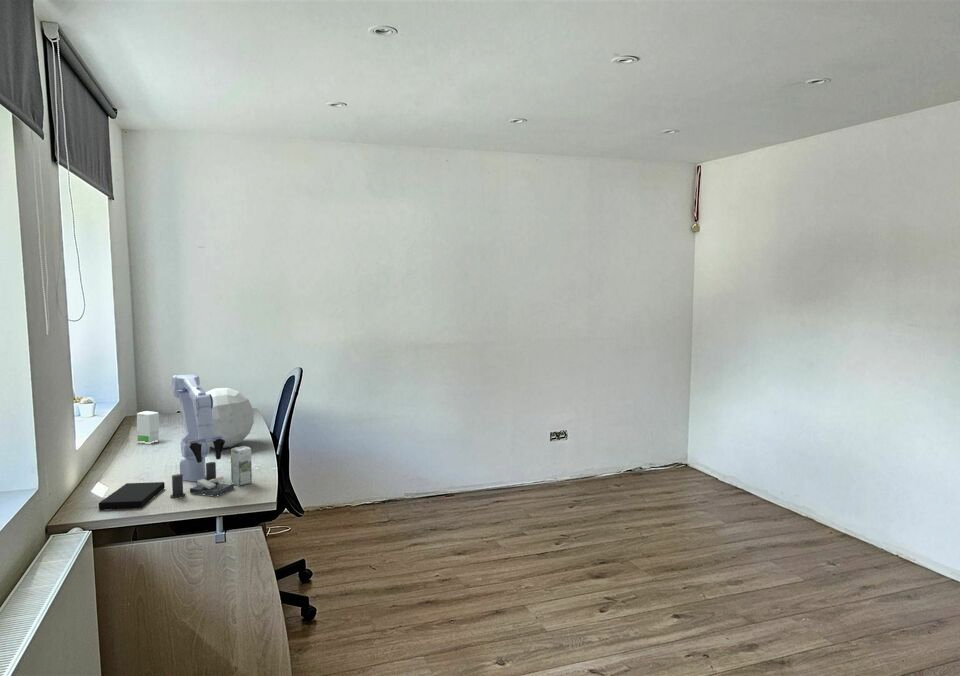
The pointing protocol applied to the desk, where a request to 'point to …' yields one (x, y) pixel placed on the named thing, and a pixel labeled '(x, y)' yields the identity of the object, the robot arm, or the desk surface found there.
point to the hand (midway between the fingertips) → (209, 460)
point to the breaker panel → (212, 489)
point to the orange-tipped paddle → (216, 479)
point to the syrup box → (241, 465)
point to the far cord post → (210, 471)
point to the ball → (231, 415)
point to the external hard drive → (132, 496)
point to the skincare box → (147, 426)
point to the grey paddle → (206, 483)
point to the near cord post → (177, 486)
